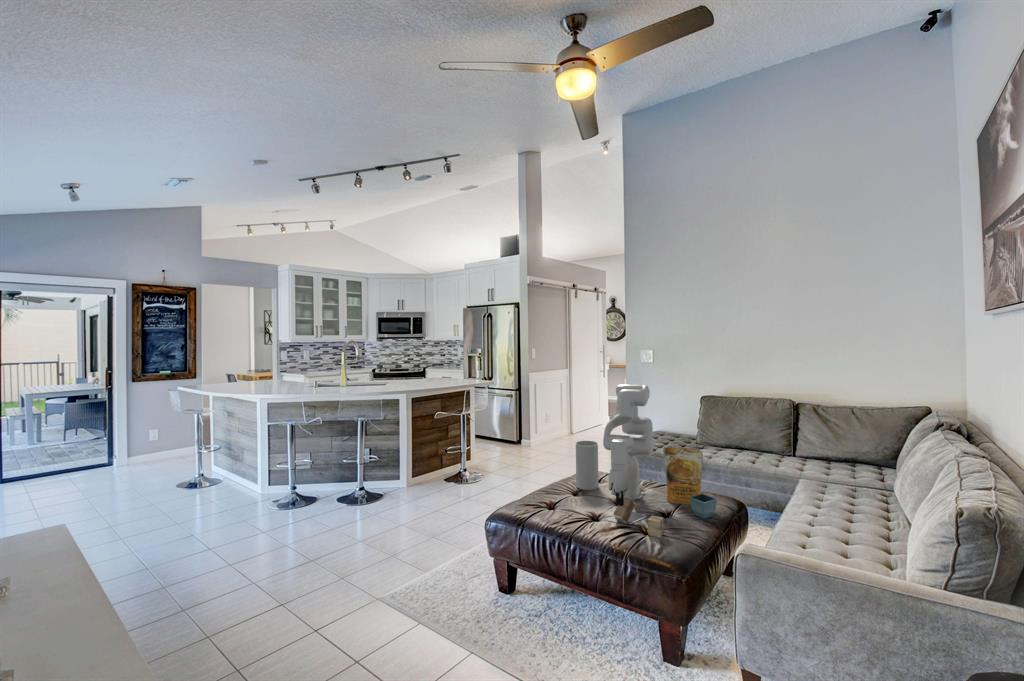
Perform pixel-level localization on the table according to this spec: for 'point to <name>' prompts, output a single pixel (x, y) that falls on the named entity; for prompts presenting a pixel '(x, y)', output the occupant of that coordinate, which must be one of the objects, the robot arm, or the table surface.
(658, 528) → the oak block
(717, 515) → the table surface
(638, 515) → the grey rectangular panel
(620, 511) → the walnut block
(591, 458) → the cylinder vase
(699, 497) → the flower pot
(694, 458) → the pancake mix bag
